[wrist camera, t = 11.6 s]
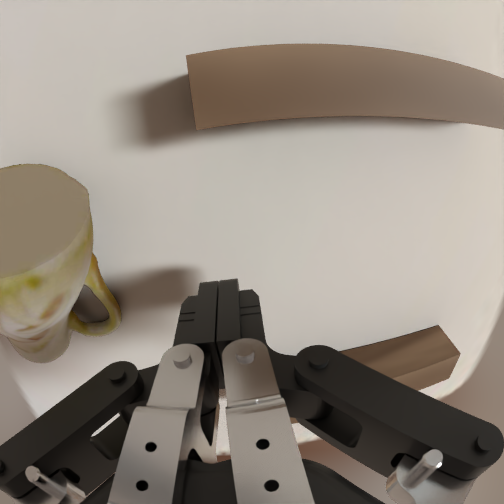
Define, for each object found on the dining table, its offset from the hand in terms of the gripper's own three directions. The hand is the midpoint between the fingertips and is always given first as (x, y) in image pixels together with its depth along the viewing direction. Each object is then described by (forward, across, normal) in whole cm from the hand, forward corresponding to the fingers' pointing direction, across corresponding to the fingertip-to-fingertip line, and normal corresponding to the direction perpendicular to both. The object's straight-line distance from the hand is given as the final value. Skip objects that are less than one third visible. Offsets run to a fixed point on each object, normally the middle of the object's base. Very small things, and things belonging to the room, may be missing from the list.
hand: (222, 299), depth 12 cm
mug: (+2, +9, -2) cm, 9 cm away
